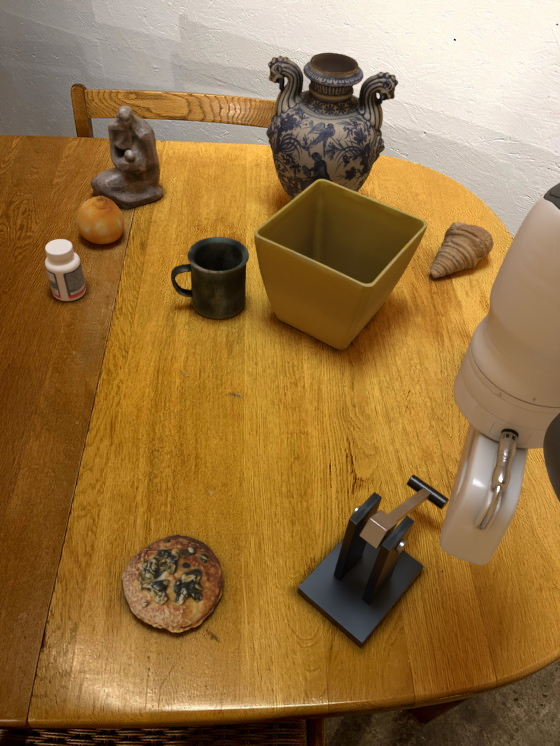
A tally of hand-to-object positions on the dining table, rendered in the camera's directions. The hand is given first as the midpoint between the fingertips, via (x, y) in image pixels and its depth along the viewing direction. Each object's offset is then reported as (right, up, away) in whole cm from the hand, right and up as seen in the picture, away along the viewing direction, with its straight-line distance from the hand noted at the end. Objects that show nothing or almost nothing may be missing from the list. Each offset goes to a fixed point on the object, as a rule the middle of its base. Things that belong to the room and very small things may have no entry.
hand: (466, 490), depth 57 cm
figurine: (-45, +44, +68) cm, 93 cm away
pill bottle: (-50, +23, +48) cm, 73 cm away
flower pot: (-8, +20, +49) cm, 53 cm away
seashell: (+15, +30, +60) cm, 68 cm away
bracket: (-7, -14, +18) cm, 24 cm away
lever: (-3, -6, +15) cm, 17 cm away
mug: (-28, +21, +48) cm, 60 cm away
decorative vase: (-9, +41, +68) cm, 80 cm away
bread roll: (-28, -14, +16) cm, 35 cm away
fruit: (-48, +34, +59) cm, 83 cm away
